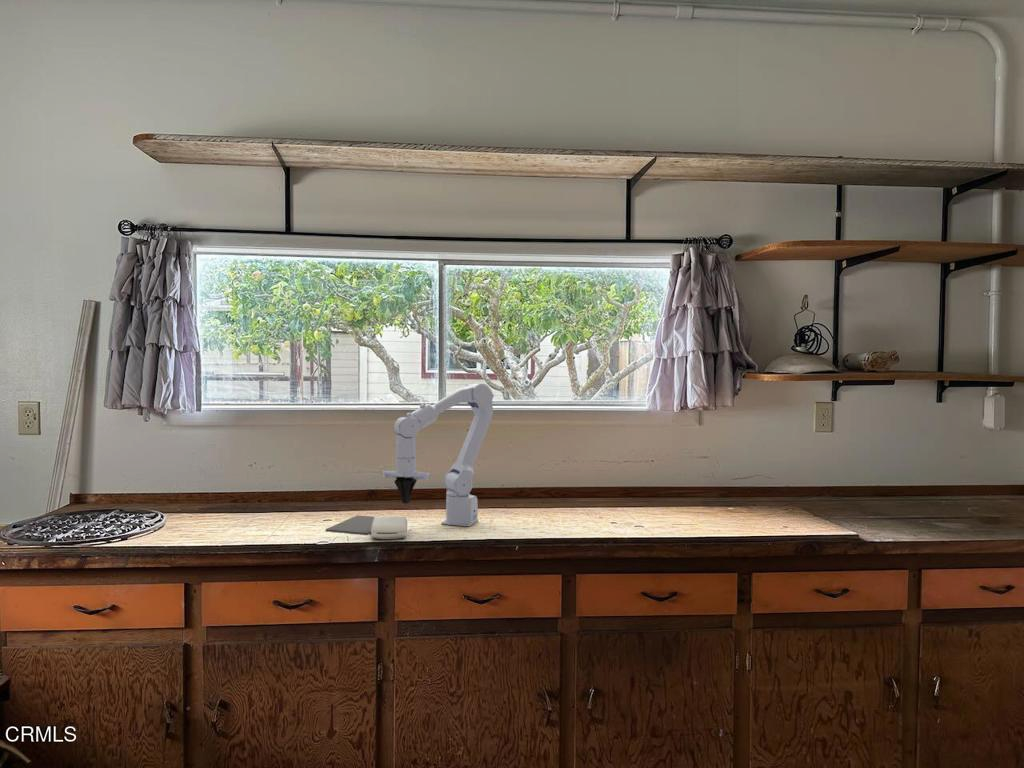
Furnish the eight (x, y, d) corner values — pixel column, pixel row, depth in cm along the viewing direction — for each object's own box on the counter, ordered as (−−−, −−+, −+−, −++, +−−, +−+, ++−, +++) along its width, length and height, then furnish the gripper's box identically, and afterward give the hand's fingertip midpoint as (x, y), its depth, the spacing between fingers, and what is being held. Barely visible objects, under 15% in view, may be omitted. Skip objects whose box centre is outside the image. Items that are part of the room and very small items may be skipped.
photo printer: (408, 514, 188) (407, 525, 176) (407, 529, 189) (406, 541, 176) (372, 514, 187) (369, 525, 175) (372, 529, 187) (369, 541, 175)
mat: (396, 520, 199) (396, 518, 199) (367, 534, 182) (367, 533, 182) (357, 516, 203) (357, 515, 203) (325, 530, 186) (325, 529, 186)
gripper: (377, 458, 186) (377, 503, 187) (422, 460, 182) (422, 507, 183) (388, 455, 193) (388, 499, 193) (432, 457, 189) (432, 502, 189)
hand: (405, 502), depth 189 cm, fingers closed
